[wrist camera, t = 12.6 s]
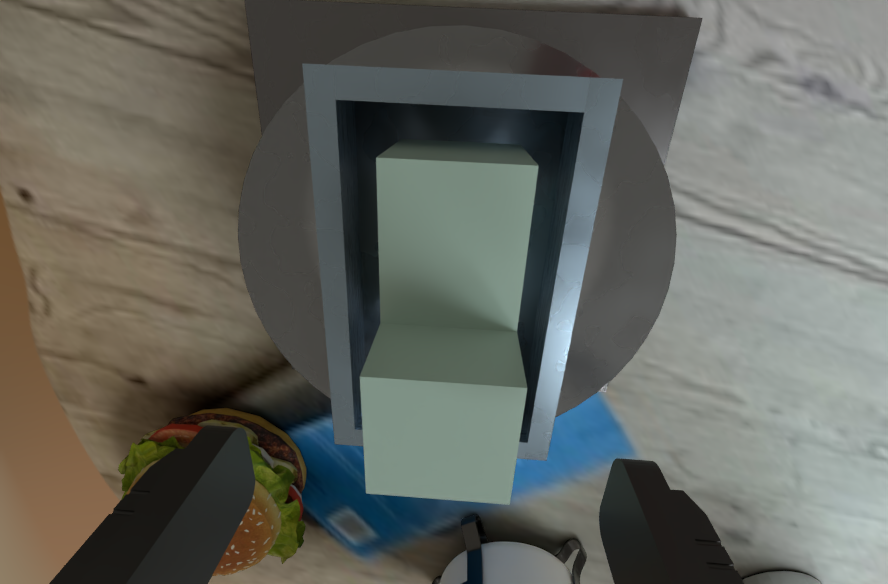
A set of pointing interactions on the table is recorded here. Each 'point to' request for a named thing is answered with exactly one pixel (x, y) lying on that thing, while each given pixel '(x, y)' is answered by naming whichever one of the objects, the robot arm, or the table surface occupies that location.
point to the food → (276, 483)
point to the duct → (464, 120)
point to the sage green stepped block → (448, 321)
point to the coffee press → (509, 561)
